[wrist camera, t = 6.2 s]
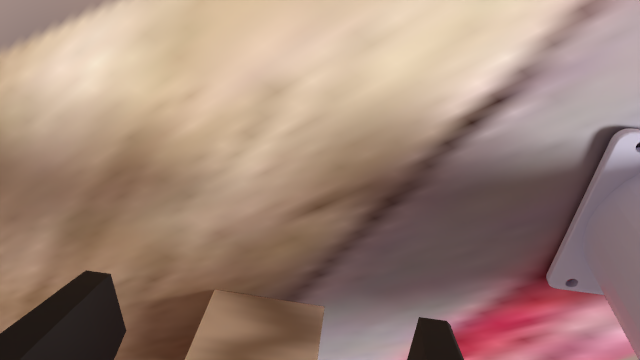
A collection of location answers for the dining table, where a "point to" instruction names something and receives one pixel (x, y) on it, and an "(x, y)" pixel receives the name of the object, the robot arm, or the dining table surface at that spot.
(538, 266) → the dining table surface
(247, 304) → the ash block
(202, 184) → the dining table surface
